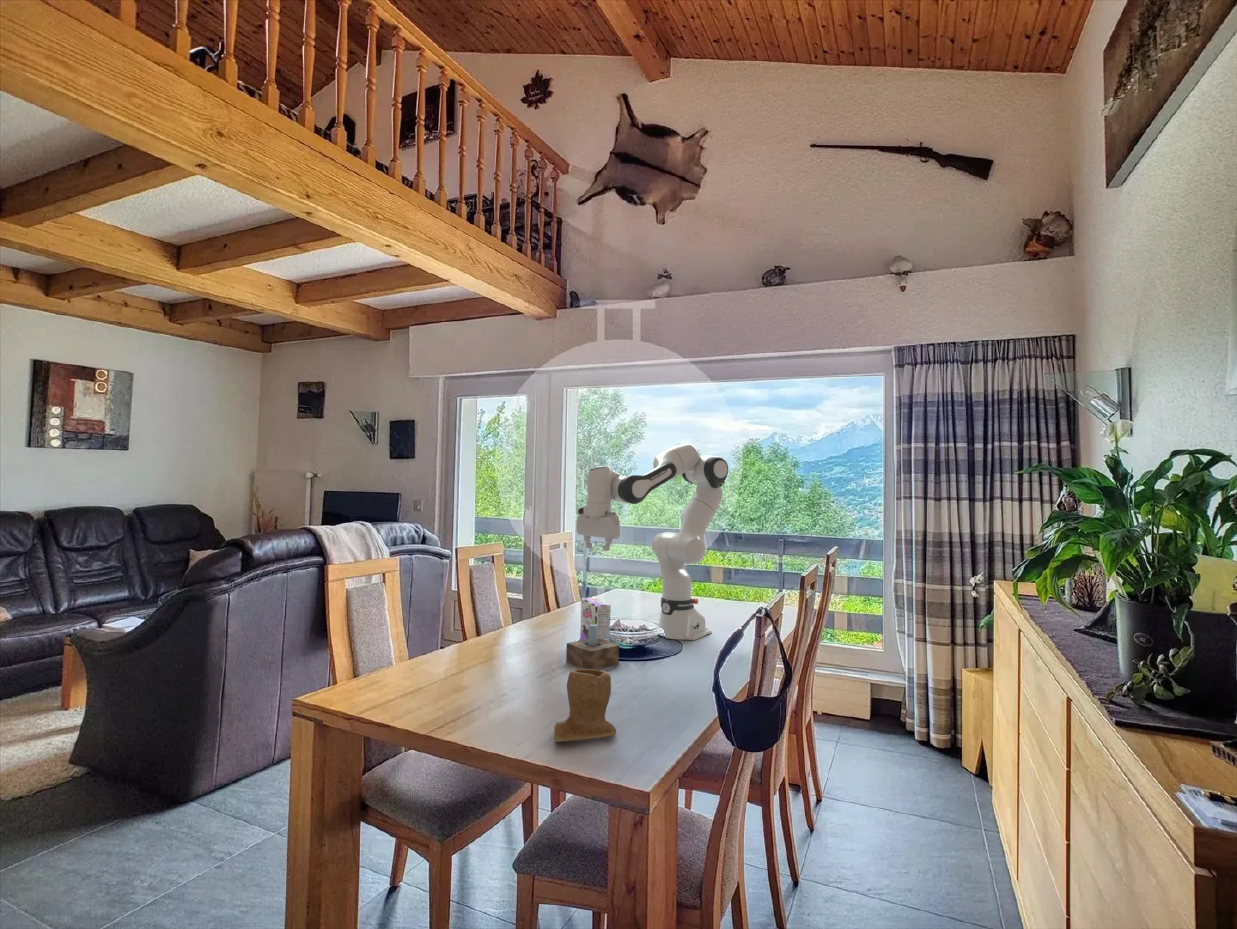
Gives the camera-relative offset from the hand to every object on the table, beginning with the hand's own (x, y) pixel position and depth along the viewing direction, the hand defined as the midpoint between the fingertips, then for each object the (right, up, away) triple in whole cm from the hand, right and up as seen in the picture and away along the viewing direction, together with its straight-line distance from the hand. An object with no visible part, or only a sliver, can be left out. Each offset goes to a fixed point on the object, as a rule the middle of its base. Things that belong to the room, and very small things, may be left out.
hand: (597, 549), depth 222 cm
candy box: (-1, -34, -3) cm, 35 cm away
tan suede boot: (-1, -33, -77) cm, 84 cm away
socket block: (-1, -34, -21) cm, 40 cm away
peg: (-1, -34, -21) cm, 40 cm away
